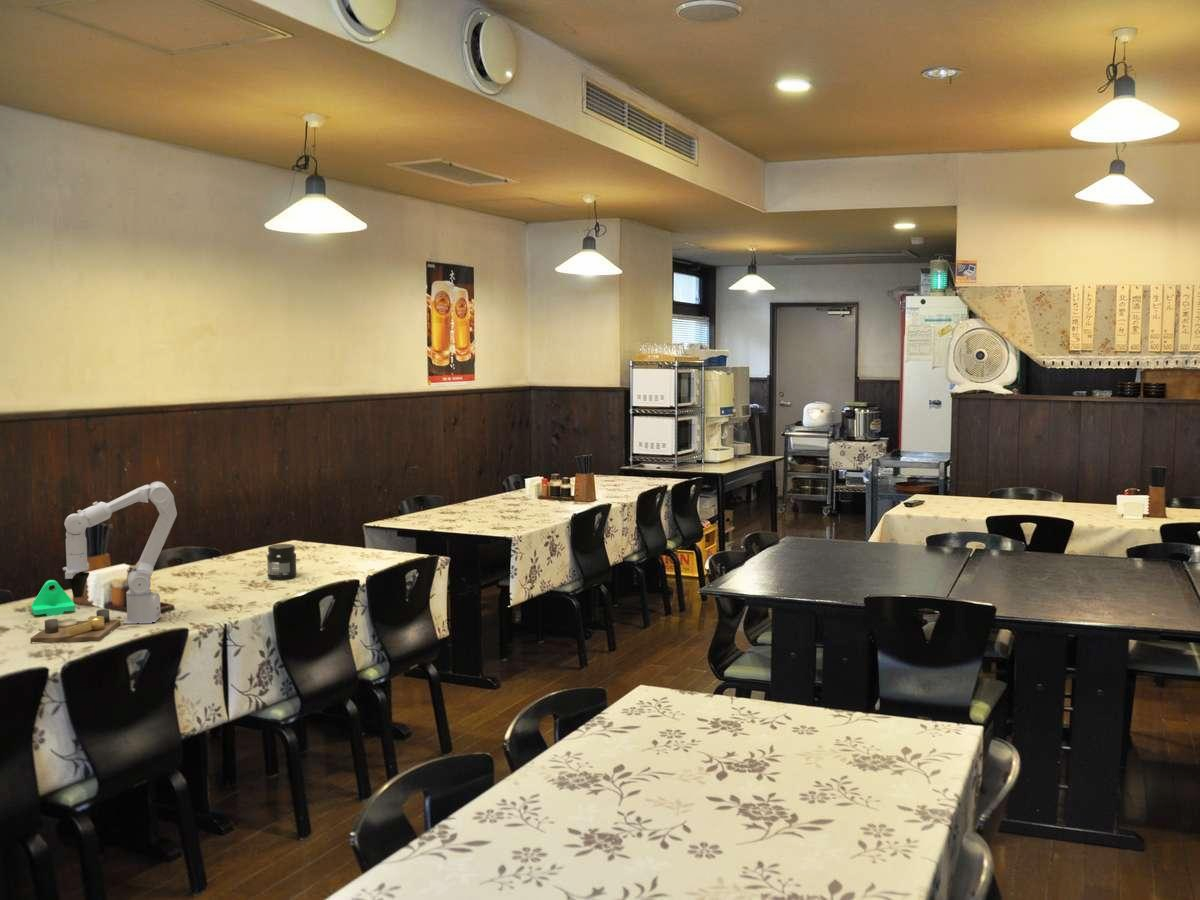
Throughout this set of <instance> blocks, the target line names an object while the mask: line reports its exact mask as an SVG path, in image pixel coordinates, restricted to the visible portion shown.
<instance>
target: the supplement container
mask: <svg viewBox="0 0 1200 900" xmlns="http://www.w3.org/2000/svg"><path fill="white" fill-rule="evenodd" d="M295 551H296V546H295V545H294V544H291V543H279V544H278V543H277V544H272V545H269V546H267V552H268V554H267V555H266V559H267V562H266V563H267V564H266V565H267V578H268V579H269V580H271V581H287V580H291V579H294V578H296V577H297V574H298V573H297V554H296V552H295Z"/></svg>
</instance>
